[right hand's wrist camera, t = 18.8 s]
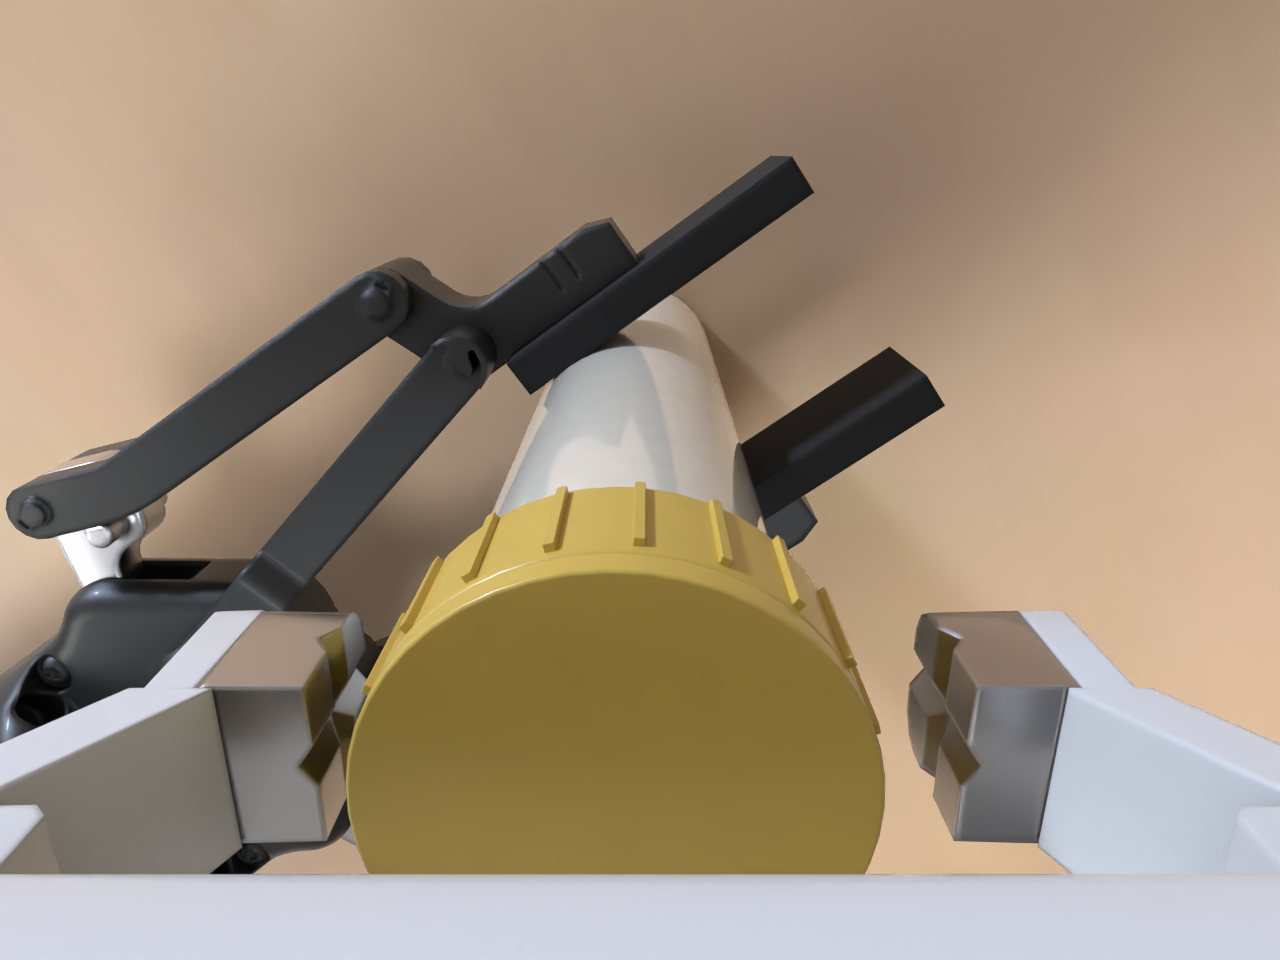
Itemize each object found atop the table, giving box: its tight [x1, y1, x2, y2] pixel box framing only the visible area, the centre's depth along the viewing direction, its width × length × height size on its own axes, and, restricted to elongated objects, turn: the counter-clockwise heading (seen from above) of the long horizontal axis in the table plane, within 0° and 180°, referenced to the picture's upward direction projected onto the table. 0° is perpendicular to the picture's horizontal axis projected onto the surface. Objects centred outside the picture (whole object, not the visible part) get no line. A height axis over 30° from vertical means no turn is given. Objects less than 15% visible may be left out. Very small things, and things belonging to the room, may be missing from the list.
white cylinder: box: [491, 294, 769, 536], centre depth 17 cm, size 4×4×18 cm
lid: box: [346, 482, 885, 874], centre depth 9 cm, size 5×5×2 cm
